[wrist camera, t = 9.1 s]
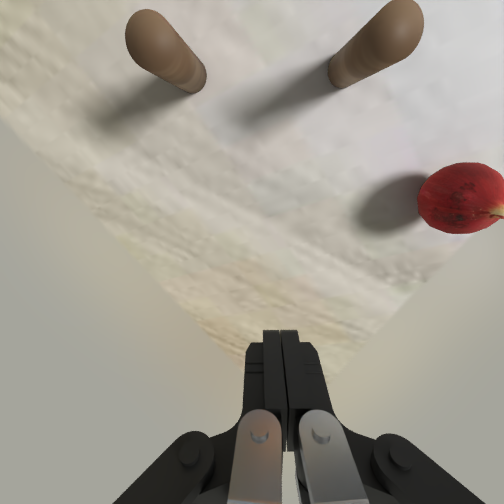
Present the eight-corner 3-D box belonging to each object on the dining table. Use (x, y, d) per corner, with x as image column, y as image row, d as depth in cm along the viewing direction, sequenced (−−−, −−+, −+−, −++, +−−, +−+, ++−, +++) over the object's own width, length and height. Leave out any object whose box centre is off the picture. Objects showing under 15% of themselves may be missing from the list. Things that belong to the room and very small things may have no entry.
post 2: (329, 50, 21) (375, -1, 13) (362, 49, 21) (429, -4, 13) (326, 88, 22) (366, 63, 14) (357, 87, 22) (416, 62, 14)
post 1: (173, 56, 21) (119, 10, 13) (204, 55, 21) (171, 8, 13) (177, 93, 22) (131, 72, 14) (208, 92, 22) (178, 70, 14)
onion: (405, 226, 27) (460, 262, 20) (396, 172, 25) (454, 190, 17) (466, 206, 26) (547, 236, 19) (463, 148, 24) (553, 156, 16)
